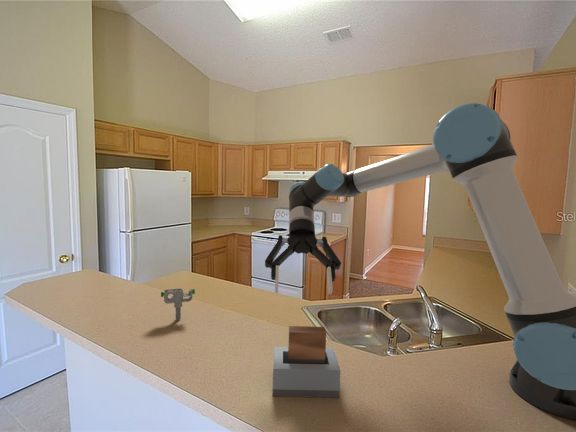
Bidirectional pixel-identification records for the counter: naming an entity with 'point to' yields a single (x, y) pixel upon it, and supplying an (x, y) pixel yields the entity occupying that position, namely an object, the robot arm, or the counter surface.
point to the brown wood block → (306, 345)
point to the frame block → (305, 376)
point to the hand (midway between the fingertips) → (303, 291)
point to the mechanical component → (177, 299)
